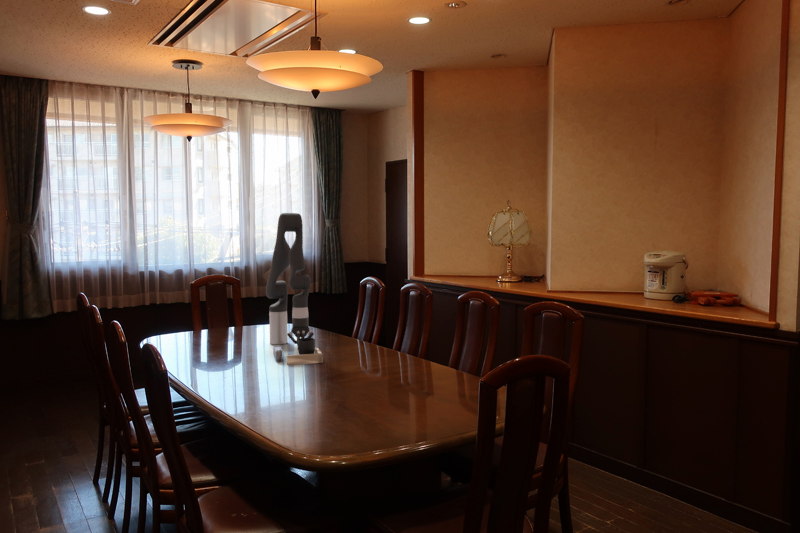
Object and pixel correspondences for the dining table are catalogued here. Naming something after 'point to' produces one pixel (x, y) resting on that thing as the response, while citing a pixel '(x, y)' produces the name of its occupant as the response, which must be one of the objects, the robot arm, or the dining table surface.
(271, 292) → the robot arm
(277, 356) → the hinge post
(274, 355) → the leg
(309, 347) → the mug
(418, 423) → the dining table surface
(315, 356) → the seat frame
